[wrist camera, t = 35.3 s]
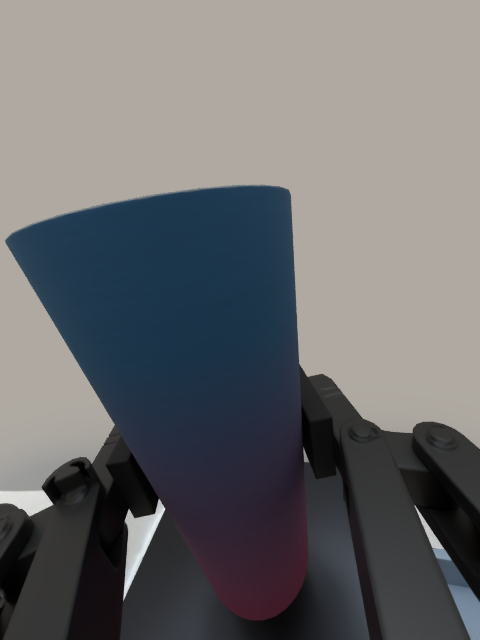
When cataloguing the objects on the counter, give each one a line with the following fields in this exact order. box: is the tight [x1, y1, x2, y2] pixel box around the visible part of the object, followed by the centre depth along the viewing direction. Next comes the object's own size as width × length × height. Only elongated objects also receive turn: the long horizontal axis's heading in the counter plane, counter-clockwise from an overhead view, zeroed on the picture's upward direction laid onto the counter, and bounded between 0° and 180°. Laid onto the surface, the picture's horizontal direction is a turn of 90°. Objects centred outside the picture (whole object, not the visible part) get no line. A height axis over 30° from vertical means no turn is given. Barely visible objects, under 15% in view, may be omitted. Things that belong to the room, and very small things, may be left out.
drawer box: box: [120, 462, 370, 640], centre depth 14 cm, size 16×14×11 cm
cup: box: [5, 185, 308, 620], centre depth 9 cm, size 7×7×15 cm
